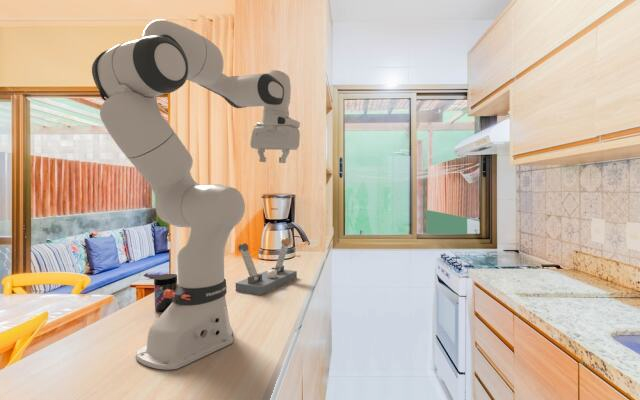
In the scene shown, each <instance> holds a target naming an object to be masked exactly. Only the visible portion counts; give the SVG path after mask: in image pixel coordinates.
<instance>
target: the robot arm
mask: <svg viewBox="0 0 640 400" xmlns="http://www.w3.org/2000/svg"><path fill="white" fill-rule="evenodd" d="M223 71H224V58H223V54H222V52H221V49H220V48H219V47H218V46H217V45H216V44H215V43H214V42H212V41H211V40H210V39H208V38H207V37H205V36H203V35H201V34H199V33H197V32H196V31H194V30H192V29H189V28H188V27H185V26H184V25H180V24H178V23H175V22H172V21H169V20H167V19H155V20H152V21H151V22H149V24H147V25H146V27H145V28H144V30H143V33H142V38H140V39H135V40H131V41H125V42H122V43H120V44H117V45H115V46H113V47H112V48H110V49H107V50H104V51H102V52H101V53H99V55H97V56H96V58H95V59H94V61H93V63H92V65H91V74H92V79H93V82H94V84H95V86H96V89H97V90H98V93H99V95H100V98H101V99H102V100H103V101H104V102H103V103H102V104H101V106H100V109H99V116H100V120H101V122H102V123H103V125H104V127H105V128H106V130H107V132H108V133H109V135H110V137H111V138H112V140H113V141H114V143H115V144H116V145H117V147H118V148H119V150H120V151H121V152H122V153H123V154H124V156H125V157H126V158H127V159H128V160H129V161H130V163H131V164H132V165H133V166H134V168H135V169H136V170H137V171H138V172H139V173H140V175H141V176H142V177H143V178H144V179H145V180H146V182H147V183H148V184H149V186H150V188H151V189H152V192H153V194H154V196H155V198H156V201H155V211H156V214H157V217H159V219H160V220H161V221H162V222H165V223H167V224H169V225H172V226H175V227H178V228H189V229H190V234H189V237H188V240H187V242H186V245H185V246H183V247H182V248H181V249H180V250H179V251H178V254H177V286H176V289H175V292H174V291H173V290H169V289H166V290H165V291H164V292H163V293H164V294H163V295H164V296H163V297H165V298H169V299H171V298H173V299H172V301H173V302H172V303H171V304H170V305H169V307H168V308H167V309H166V310H165V311H164V312H161V315H159V317H158V318H157V319H156V320H155V321H154V322H153V323H152V324H151V326H150V327H149V330H148V333H147V339H146V340H147V341H146V344H145V345H144V346H142V347H140V348H138V349H137V350H136V352H135V353H136V354H135V359H136V360H137V362H139V363H140V364H142V365H144V366H146V367H150V368H153V369H156V370H164V371H165V370H166V371H167V370H169V371H170V370H177V369H180V368H182V367H184V366H186V365H188V364H190V363H193V362H194V361H198V360H199V359H202V358H204V357H205V356H207V355H210V354H212V353H214V352H216V351H218V350H221V349H223V348H225V347H227V346H229V345H232V343H234V339H233V336H232V334H233V329H232V327H231V322H230V318H229V312H228V306H227V299H226V294H227V288H228V287H227V280H226V278H225V251H226V250H225V249H226V244H227V242H228V239H229V237H230V234H231V232H232V230H233V229H234V228H235V227H236V225H238V224H239V223H240V222H241V221H242V219H243V217H244V214H245V209H246V203H245V199H244V197H243V195H242V193H241V191H239V190H238V189H237V188H234V187H231V186H228V185H224V184H219V183H218V184H215V183H214V184H199V183H197V182H196V180H195V179H194V178H193V176H192V174H191V171H192V167H193V164H194V163H193V160H194V159H193V156H192V155H191V153H190V151H189V150H188V149H187V148H186V146H185V145H184V143H183V142H182V141H181V139H180V137H179V136H178V134H177V133H176V132H175V130H174V129H173V128H172V126H171V125H170V124H169V122H168V121H167V120H166V119H165V117H164V116H163V115H162V113H161V111H160V109H159V105H158V101H157V100H158V97H160V96H163V95H165V94H170V93H173V92H175V91H177V90H179V89H180V88H181V87H183V86H184V85H185V83H186V81H190V82H192V83H195V84H197V85H199V86H200V87H202V88H204V89H206V90H208V91H211V93H212V92H213V93H214V94H216V95H218V96H220V97H221V98H223V99H224V100H225V102H227V103H228V104H229V105H230V106H231V107H233V108H235V109H243V108H252V107H255V108H256V107H263V110H262V119H261V120H262V121H261V122H257V123H256V124H255V125H254V126H253V129H252V132H251V136H250V137H251V138H250V142H249V144H250V148H251V149H254V150H257V154H258V156H259V159H258V160H259V162H260V163H266V162H267V157H266V156H265V154H264V153H266V152H265V151H266V150H280V151H281V153H282V154H281V156H280V157H278V160H279V161H278V163H280V164H286V162H287V158H288V156H289V154H290V151H294V150H295V151H297V150H298V148H299V147H300V140H301V139H300V138H301V133H300V132H301V131H300V130H299V128H301V123H300V121H298V120H295V119H293V118H291V117H290V112H289V111H290V110H289V106H290V104H291V97H292V96H291V88H292V87H291V79H290V76H289V75H288V74H287V73H285V72H283V71H280V70H275V69H274V70H273V69H272V70H269V72H267V73H256V74H248V75H246V74H245V75H235V76H234V75H233V76H229V75H226V74H225V73H223Z"/></svg>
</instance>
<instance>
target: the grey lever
mask: <svg viewBox="0 0 640 400" xmlns="http://www.w3.org/2000/svg"><path fill="white" fill-rule="evenodd" d="M237 248H238V251H239V252H240V254H241V256H242V260H243V262H244V264H245V266H246V267H245V268H246V270H247V272H248V275H249V276H248V277H254V282H256V281H258V280H260V277H259V275H258V274H259V273H258V271H257V269H256V266H255V264H254V261H253V259H252V256H251V254H250V251H249V245H248V244H247V243H246V242H245V243H241V244H239V245H238V247H237Z"/></svg>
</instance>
